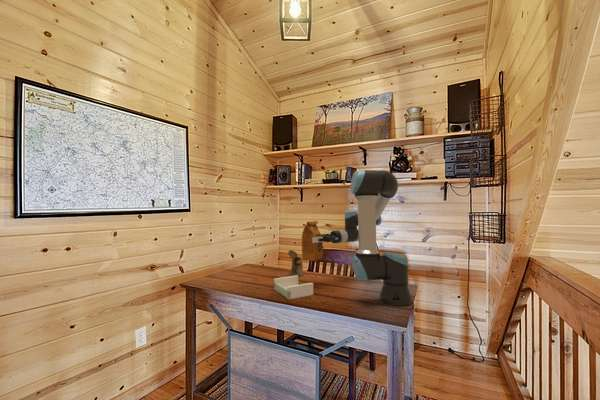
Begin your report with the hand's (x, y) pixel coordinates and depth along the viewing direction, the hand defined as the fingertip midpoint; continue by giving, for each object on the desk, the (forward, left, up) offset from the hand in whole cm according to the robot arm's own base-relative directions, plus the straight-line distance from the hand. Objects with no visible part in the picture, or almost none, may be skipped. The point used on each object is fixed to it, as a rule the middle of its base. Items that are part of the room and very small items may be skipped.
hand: (307, 239), depth 158 cm
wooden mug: (+26, -6, -28) cm, 39 cm away
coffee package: (0, -4, -12) cm, 13 cm away
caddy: (-2, +10, -28) cm, 29 cm away
